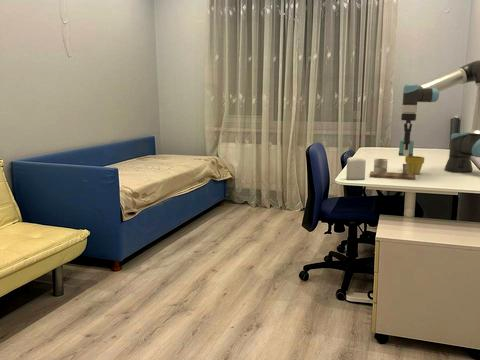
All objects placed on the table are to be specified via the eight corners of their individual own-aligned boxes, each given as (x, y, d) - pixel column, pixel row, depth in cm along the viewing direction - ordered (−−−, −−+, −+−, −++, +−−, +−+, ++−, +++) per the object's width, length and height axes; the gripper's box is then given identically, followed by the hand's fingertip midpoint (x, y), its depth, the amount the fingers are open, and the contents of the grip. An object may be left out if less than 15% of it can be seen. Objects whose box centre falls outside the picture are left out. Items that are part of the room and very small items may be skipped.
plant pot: (424, 172, 260) (425, 156, 258) (421, 175, 251) (422, 158, 249) (406, 171, 265) (407, 155, 263) (402, 173, 256) (403, 157, 255)
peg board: (414, 176, 249) (415, 159, 247) (415, 179, 237) (416, 162, 236) (370, 173, 256) (371, 157, 254) (369, 177, 245) (370, 160, 243)
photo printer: (347, 180, 237) (348, 157, 235) (345, 178, 241) (346, 156, 239) (366, 179, 238) (367, 157, 236) (363, 178, 242) (364, 156, 240)
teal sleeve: (398, 154, 247) (399, 140, 245) (412, 154, 245) (413, 140, 243) (398, 155, 240) (399, 141, 239) (412, 156, 238) (414, 141, 236)
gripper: (401, 112, 249) (398, 152, 253) (402, 113, 230) (398, 156, 234) (415, 112, 246) (412, 153, 251) (417, 113, 228) (413, 157, 232)
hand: (405, 154), depth 242 cm, fingers closed on teal sleeve, 7 cm apart
